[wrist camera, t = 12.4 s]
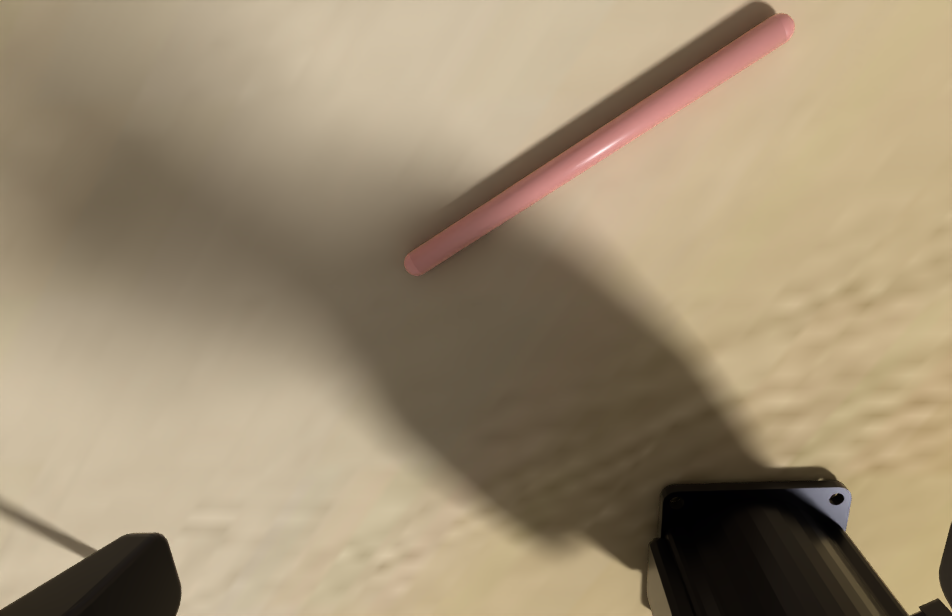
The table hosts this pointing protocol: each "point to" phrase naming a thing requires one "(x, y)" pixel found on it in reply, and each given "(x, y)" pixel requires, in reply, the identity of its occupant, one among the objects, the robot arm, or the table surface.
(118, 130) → the table surface
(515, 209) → the pink rod
